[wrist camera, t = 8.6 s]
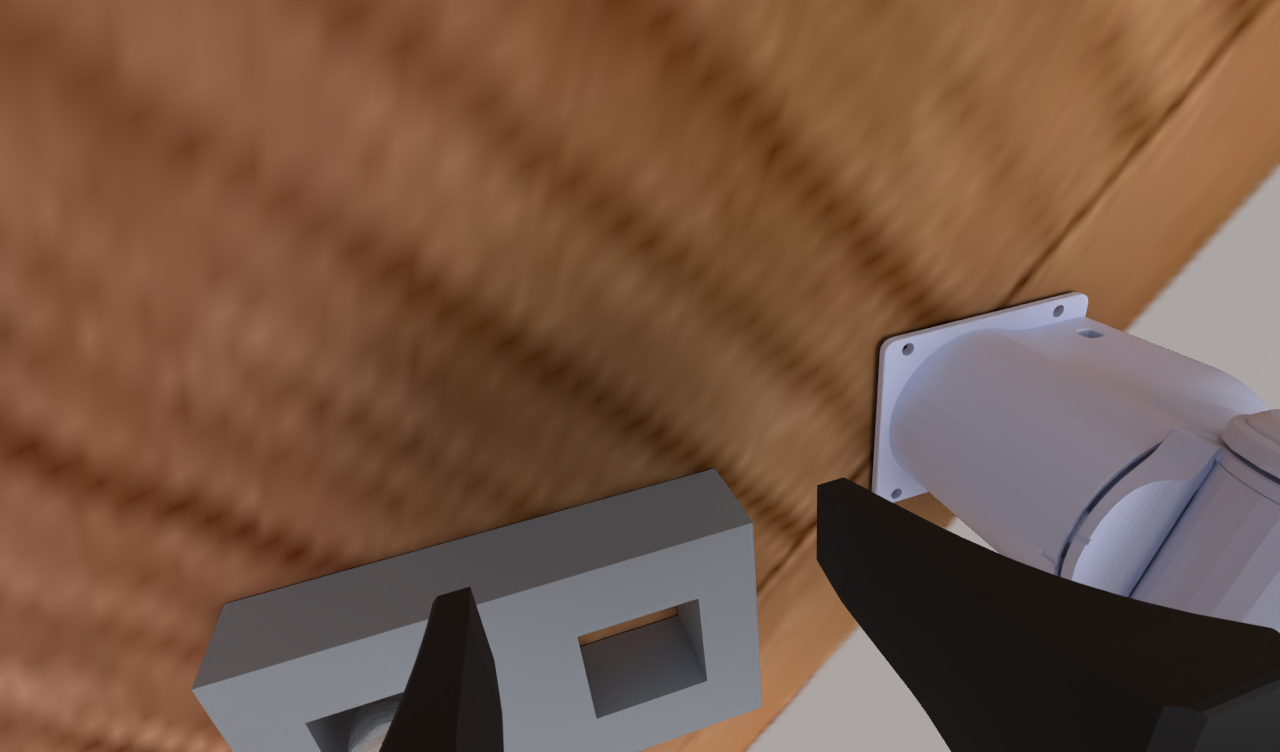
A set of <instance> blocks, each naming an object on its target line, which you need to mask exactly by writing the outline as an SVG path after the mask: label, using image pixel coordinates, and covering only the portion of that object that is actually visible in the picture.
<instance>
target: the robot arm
mask: <svg viewBox="0 0 1280 752" xmlns="http://www.w3.org/2000/svg"><path fill="white" fill-rule="evenodd" d="M1087 306H1088V298H1087V296H1086V295H1085V294H1082V293H1079V292H1072V293H1068V294H1064V295H1060V296H1056V297H1052V298H1048V299H1044V300H1040V301H1036V302H1031V303H1027V304H1023V305H1019V306H1015V307H1011V308H1007V309H1003V310H999V311H995V312H991V313H987V314H983V315H979V316H975V317H971V318H967V319H963V320H959V321H955V322H951V323H947V324H943V325H939V326H935V327H931V328H927V329H923V330H919V331H915V332H911V333H907V334H903V335H899V336H895V337H891V338H889V339H887V340H886V341H885V342H884V343H883V345H882V346H881V349H880V359H879V376H878V393H877V410H876V427H875V444H874V461H873V478H872V492H871V491H869V490H868V489H866V488H864V487H862V486H860V485H858V484H856V483H854V482H852V481H850V480H848V479H846V478H840V479H837V480H833V481H830V482H827V483H823V484H820V485H817V561H818V562H819V564H820V566H821V568H822V569H823V571H824V573H825V575H826V576H827V578H828V580H829V582H830V583H831V585H832V587H833V588H834V590H835V591H836V593H837V595H838V596H839V598H840V600H841V601H842V603H843V604H844V605H845V607H846V608H847V609H848V611H849V612H850V613H851V615H852V616H853V617H854V618H855V620H856V621H857V622H858V624H859V625H860V626H861V628H862V629H863V630H864V631H865V633H866V634H867V635H868V637H869V638H870V639H871V641H872V642H873V643H874V644H875V646H876V647H877V648H878V649H879V651H880V652H881V653H882V655H883V656H884V657H885V658H886V660H887V661H888V662H889V664H890V665H891V666H892V667H893V669H894V670H895V671H896V673H897V674H898V675H899V676H900V678H901V679H902V680H903V681H904V683H905V684H906V685H907V687H908V688H909V689H910V691H911V692H912V693H913V695H914V696H915V697H916V699H917V700H918V702H919V703H920V704H921V706H922V707H923V709H924V710H925V711H926V713H927V714H928V716H929V717H930V719H931V721H932V722H933V724H934V725H935V726H936V728H937V730H938V732H939V733H940V735H941V736H942V738H943V739H944V741H945V742H946V744H947V746H948V747H949V749H950V750H951V752H1280V409H1273V410H1270V409H1269V408H1268V407H1267V406H1266V405H1265V403H1264V402H1263V401H1262V400H1261V399H1260V398H1259V397H1258V396H1257V395H1256V394H1255V393H1254V392H1253V391H1252V390H1250V389H1249V388H1248V387H1247V386H1245V385H1244V384H1243V383H1242V382H1241V381H1239V380H1238V379H1236V378H1234V377H1233V376H1231V375H1229V374H1228V373H1225V372H1223V371H1221V370H1219V369H1217V368H1214V367H1212V366H1209V365H1207V364H1204V363H1202V362H1199V361H1197V360H1194V359H1191V358H1189V357H1186V356H1184V355H1181V354H1179V353H1176V352H1174V351H1171V350H1169V349H1166V348H1163V347H1161V346H1158V345H1156V344H1153V343H1151V342H1148V341H1146V340H1143V339H1141V338H1138V337H1135V336H1133V335H1130V334H1128V333H1125V332H1123V331H1120V330H1118V329H1115V328H1113V327H1110V326H1107V325H1105V324H1102V323H1100V322H1097V321H1095V320H1092V319H1090V318H1087V317H1085V315H1086V310H1087ZM1054 309H1055V310H1054ZM906 344H908V345H907V348H906V349H905V350H904V351H902V350H903V347H904V346H905V345H906ZM893 491H894V492H893ZM926 492H929V493H930V494H932V495H933V496H934V497H935V498H936V499H937V500H939V501H940V502H941V503H942V504H943V505H944V506H945V507H947V508H948V509H949V510H950V511H951V512H952V513H954V514H955V515H956V516H957V517H958V518H959V519H960V520H962V521H963V522H964V523H965V524H966V525H967V526H969V527H970V528H971V529H972V530H973V531H974V532H975V533H977V534H978V535H979V536H980V537H981V538H982V539H983V540H985V541H986V542H987V543H988V544H989V545H990V546H992V547H993V548H994V549H995V550H996V551H997V552H998V553H1000V554H998V553H996V552H994V551H991V550H989V549H987V548H985V547H982V546H980V545H978V544H976V543H973V542H971V541H969V540H967V539H964V538H962V537H960V536H958V535H956V534H954V533H952V532H949V531H947V530H945V529H943V528H941V527H939V526H937V525H935V524H933V523H931V522H929V521H927V520H925V519H923V518H921V517H919V516H917V515H915V514H913V513H911V512H909V511H907V510H906V509H904V508H902V507H900V506H898V505H896V504H894V503H893V502H897V501H900V500H903V499H907V498H910V497H913V496H916V495H920V494H923V493H926ZM379 752H504V738H503V715H502V707H501V700H500V693H499V686H498V680H497V673H496V667H495V660H494V657H493V654H492V651H491V648H490V645H489V642H488V639H487V636H486V633H485V630H484V627H483V624H482V621H481V618H480V615H479V612H478V609H477V606H476V602H475V599H474V596H473V593H472V590H471V587H467V588H463V589H460V590H456V591H453V592H449V593H446V594H443V595H439V596H437V597H436V599H435V600H434V601H433V603H432V608H431V612H430V616H429V619H428V623H427V626H426V630H425V633H424V636H423V640H422V643H421V646H420V649H419V652H418V655H417V658H416V661H415V664H414V666H413V669H412V672H411V674H410V677H409V680H408V682H407V685H406V688H405V690H404V693H403V696H402V698H401V701H400V703H399V706H398V708H397V711H396V713H395V715H394V718H393V720H392V722H391V724H390V727H389V729H388V731H387V734H386V736H385V738H384V740H383V743H382V745H381V747H380V750H379Z"/></svg>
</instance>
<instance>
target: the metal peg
mask: <svg viewBox="0 0 1280 752" xmlns="http://www.w3.org/2000/svg"><path fill="white" fill-rule="evenodd" d="M403 693H404V692H402V693H399V694H396V695H392V696H389V697H386V698H383V699H380V700H377V701H373V702H370V703H367V704H364V705H361V706H358V707H355V708H353V713H352V722H351V730H350V738H349V746H348V752H379V750H380V747H381V745H382V743H383V740H384V738H385V736H386V734H387V731H388V729H389V727H390V724H391V722H392V720H393V718H394V715H395V713H396V711H397V708H398V706H399V703H400V701H401V698H402V696H403Z"/></svg>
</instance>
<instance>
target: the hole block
mask: <svg viewBox="0 0 1280 752" xmlns="http://www.w3.org/2000/svg"><path fill="white" fill-rule="evenodd" d="M467 587H471V590H472V593H473V596H474V599H475V602H476V606H477V609H478V612H479V615H480V618H481V621H482V624H483V627H484V630H485V633H486V636H487V639H488V642H489V645H490V648H491V651H492V654H493V657H494V660H495V667H496V673H497V680H498V686H499V693H500V700H501V707H502V715H503V738H504V752H638V751H641V750H644V749H646V748H649V747H652V746H655V745H657V744H660V743H663V742H666V741H669V740H671V739H674V738H677V737H680V736H683V735H685V734H688V733H691V732H694V731H697V730H699V729H702V728H705V727H708V726H710V725H713V724H716V723H719V722H722V721H724V720H727V719H730V718H733V717H736V716H738V715H741V714H744V713H747V712H750V711H752V710H755V709H758V708H761V707H762V698H761V678H760V657H759V637H758V616H757V596H756V576H755V555H754V535H753V522H752V521H751V519H750V518H749V516H748V515H747V513H746V512H745V511H744V509H743V508H742V506H741V505H740V503H739V502H738V500H737V499H736V498H735V496H734V495H733V493H732V492H731V490H730V489H729V487H728V486H727V485H726V483H725V482H724V480H723V479H722V477H721V476H720V475H719V473H718V472H717V470H716V469H715V468H714V469H710V470H707V471H703V472H700V473H696V474H692V475H689V476H685V477H682V478H678V479H674V480H671V481H667V482H664V483H660V484H656V485H653V486H649V487H645V488H642V489H638V490H635V491H631V492H627V493H624V494H620V495H617V496H613V497H609V498H606V499H602V500H599V501H595V502H591V503H588V504H584V505H580V506H577V507H573V508H570V509H566V510H562V511H559V512H555V513H552V514H548V515H544V516H541V517H537V518H533V519H530V520H526V521H523V522H519V523H515V524H512V525H508V526H505V527H501V528H497V529H494V530H490V531H487V532H483V533H479V534H476V535H472V536H468V537H465V538H461V539H458V540H454V541H450V542H447V543H443V544H440V545H436V546H432V547H429V548H425V549H422V550H418V551H414V552H411V553H407V554H403V555H400V556H396V557H393V558H389V559H385V560H382V561H378V562H375V563H371V564H367V565H364V566H360V567H356V568H353V569H349V570H346V571H342V572H338V573H335V574H331V575H328V576H324V577H320V578H317V579H313V580H310V581H306V582H302V583H299V584H295V585H291V586H288V587H284V588H281V589H277V590H273V591H270V592H266V593H263V594H259V595H255V596H252V597H248V598H244V599H241V600H237V601H234V602H230V603H226V604H224V606H223V608H222V611H221V614H220V616H219V619H218V622H217V624H216V627H215V629H214V632H213V635H212V637H211V640H210V643H209V645H208V648H207V650H206V653H205V656H204V658H203V661H202V664H201V666H200V669H199V671H198V674H197V677H196V679H195V682H194V685H193V687H192V691H193V693H194V694H195V696H196V697H197V699H198V700H199V702H200V703H201V705H202V706H203V708H204V709H205V711H206V712H207V714H208V715H209V717H210V718H211V720H212V721H213V723H214V724H215V726H216V727H217V729H218V730H219V732H220V733H221V735H222V736H223V738H224V739H225V741H226V742H227V744H228V745H229V747H230V748H231V750H232V751H233V752H348V746H349V738H350V730H351V722H352V713H353V708H355V707H358V706H361V705H364V704H367V703H370V702H373V701H377V700H380V699H383V698H386V697H389V696H392V695H396V694H399V693H402V692H404V690H405V688H406V685H407V682H408V680H409V677H410V674H411V672H412V669H413V666H414V664H415V661H416V658H417V655H418V652H419V649H420V646H421V643H422V640H423V636H424V633H425V630H426V626H427V623H428V619H429V616H430V612H431V608H432V603H433V601H434V600H435V599H436V597H437V596H439V595H443V594H446V593H449V592H453V591H456V590H460V589H463V588H467ZM673 606H677V611H678V616H675V617H672V618H668V619H665V620H662V621H659V622H656V623H653V624H650V625H647V626H643V627H640V628H637V629H634V630H631V631H628V632H625V633H622V634H618V635H615V636H612V637H609V638H606V639H603V640H600V641H597V642H593V643H590V644H587V645H584V646H581V647H580V646H579V641H578V637H579V636H582V635H585V634H588V633H591V632H595V631H598V630H601V629H604V628H607V627H610V626H613V625H617V624H620V623H623V622H626V621H629V620H632V619H636V618H639V617H642V616H645V615H648V614H651V613H654V612H658V611H661V610H664V609H667V608H670V607H673Z"/></svg>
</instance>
